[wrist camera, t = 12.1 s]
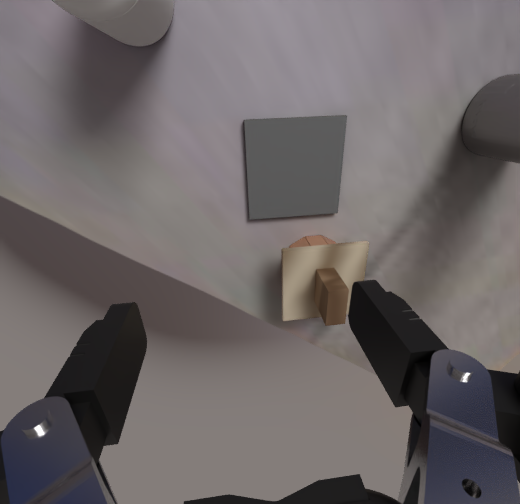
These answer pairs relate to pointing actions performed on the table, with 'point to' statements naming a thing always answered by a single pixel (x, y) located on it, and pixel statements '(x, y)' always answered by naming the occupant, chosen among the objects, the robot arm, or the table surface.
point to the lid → (321, 280)
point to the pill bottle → (124, 18)
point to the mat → (294, 165)
